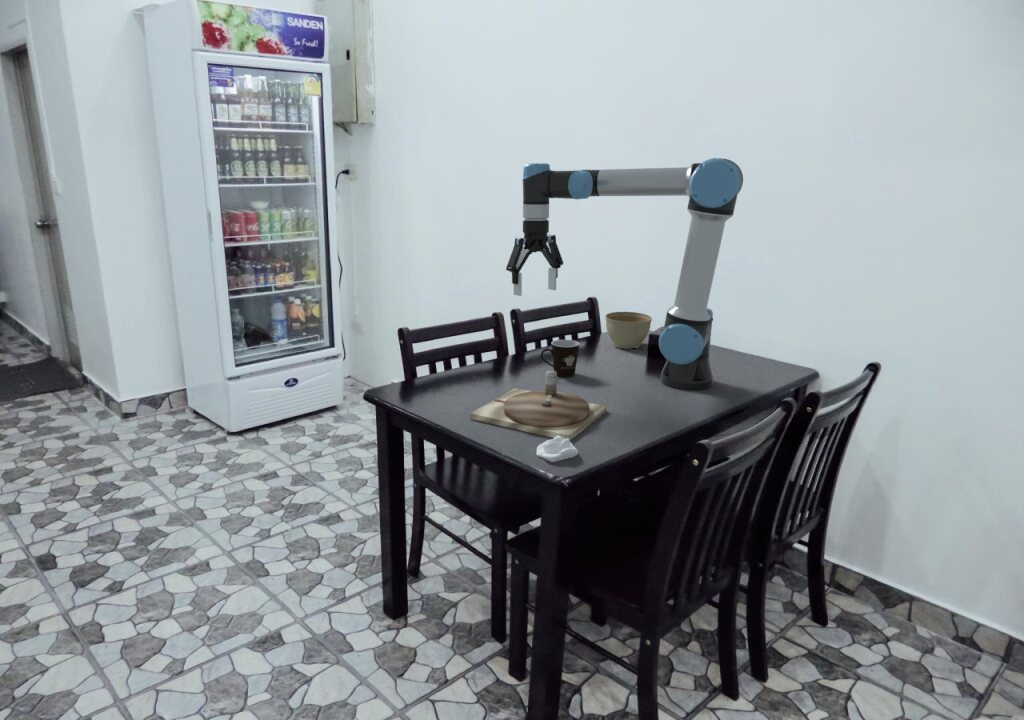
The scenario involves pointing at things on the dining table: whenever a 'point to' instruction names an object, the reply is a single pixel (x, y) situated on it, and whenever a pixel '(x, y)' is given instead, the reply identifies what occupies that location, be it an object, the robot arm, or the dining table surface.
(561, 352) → the coffee mug
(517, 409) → the wheel
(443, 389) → the dining table surface
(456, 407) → the dining table surface
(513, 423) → the dial board
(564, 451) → the crumpled white cloth
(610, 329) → the planter bowl
